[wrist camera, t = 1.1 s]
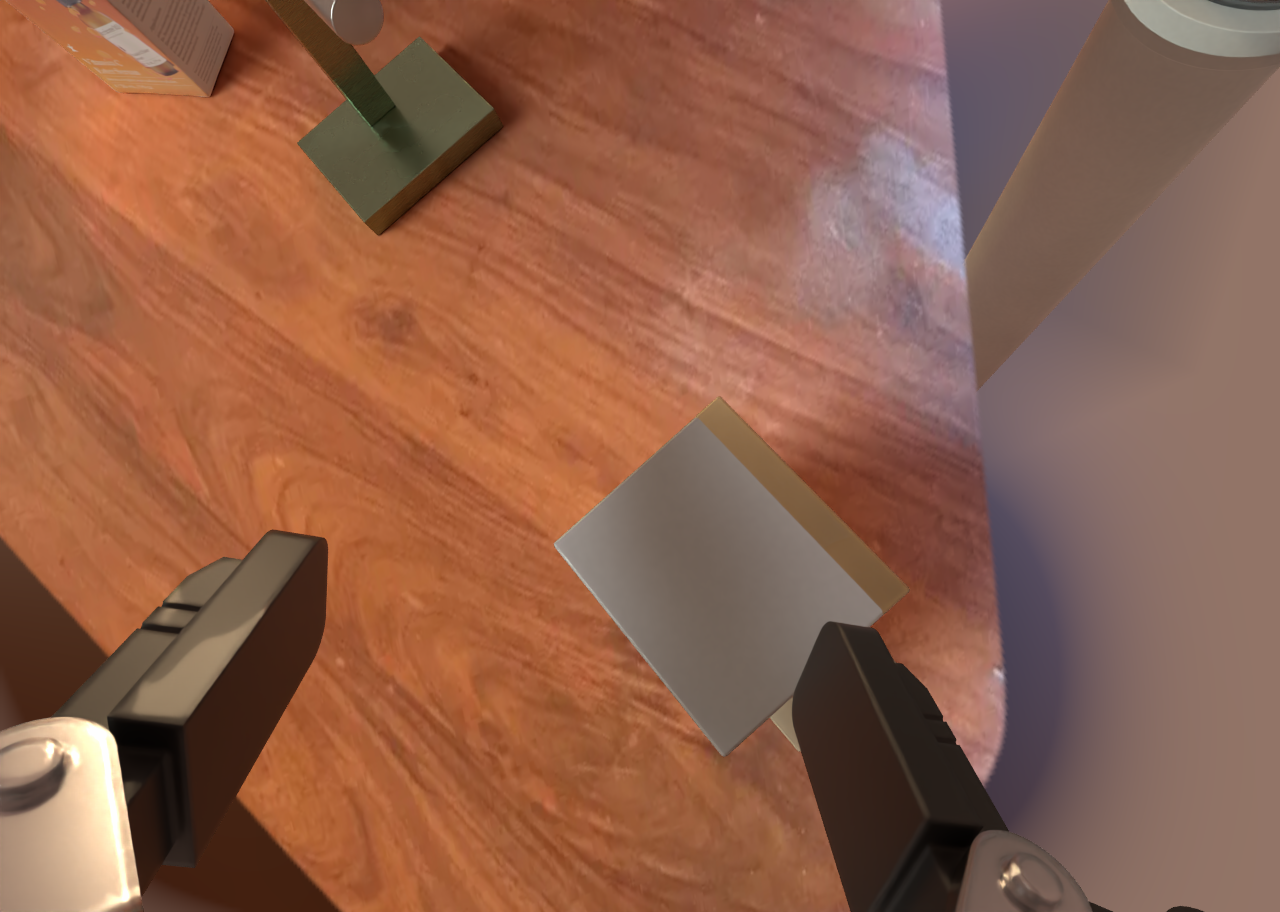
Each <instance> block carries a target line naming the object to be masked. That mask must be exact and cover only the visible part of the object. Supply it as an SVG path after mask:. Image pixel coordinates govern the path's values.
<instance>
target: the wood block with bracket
mask: <svg viewBox="0 0 1280 912" xmlns="http://www.w3.org/2000/svg"><path fill="white" fill-rule="evenodd" d="M554 546H555V548H556V549H557V551H558V552H559V553H560V554H561V556H562V557H563V558H564V559H565V561H566V562H567V563H568V564H569V566H570V567H571V568H572V569H573V571H574V572H575V573H576V574H577V576H578V577H579V578H580V579H581V581H582V582H583V583H584V584H585V586H586V587H587V588H588V589H589V591H590V592H591V593H592V594H593V596H594V597H595V598H596V599H597V601H598V602H599V603H600V604H601V606H602V607H603V608H604V609H605V611H606V612H607V613H608V614H609V616H610V617H611V618H612V619H613V621H614V622H615V623H616V624H617V626H618V627H619V628H620V629H621V631H622V632H623V633H624V634H625V636H626V637H627V638H628V639H629V641H630V642H631V643H632V644H633V646H634V647H635V648H636V649H637V651H638V652H639V653H640V654H641V656H642V657H643V658H644V659H645V661H646V662H647V663H648V664H649V666H650V667H651V668H652V669H653V671H654V672H655V673H656V674H657V676H658V677H659V678H660V679H661V681H662V682H663V683H664V684H665V686H666V687H667V688H668V689H669V691H670V692H671V693H672V694H673V696H674V697H675V698H676V699H677V701H678V702H679V703H680V704H681V706H682V707H683V708H684V709H685V711H686V712H687V713H688V714H689V716H690V717H691V718H692V719H693V721H694V722H695V723H696V724H697V726H698V727H699V728H700V729H701V731H702V732H703V733H704V734H705V735H706V737H707V738H708V739H709V740H710V742H711V743H712V744H713V745H714V747H715V748H716V749H717V750H718V752H719V753H720V754H721V755H722V756H724V757H725V756H727V755H729V754H730V753H731V752H732V751H733V750H734V749H735V748H736V747H737V746H739V745H740V744H741V743H742V742H743V741H744V740H745V739H746V738H747V737H749V736H750V735H751V734H752V733H753V732H754V731H755V730H756V729H757V728H758V727H760V726H761V725H762V724H763V723H764V722H765V721H766V720H767V719H768V718H771V720H772V721H773V722H774V723H775V724H776V726H777V727H778V728H779V729H780V730H781V731H782V733H783V734H784V735H785V736H786V737H787V739H788V740H789V741H790V742H791V743H792V745H793V746H794V747H795V748H796V749H797V750H798V751H799V752H800V751H801V750H800V746H799V743H798V740H797V737H796V734H795V730H794V727H793V721H792V702H793V695H794V691H795V688H796V686H797V683H798V681H799V679H800V676H801V674H802V672H803V669H804V667H805V665H806V663H807V660H808V658H809V656H810V653H811V651H812V649H813V646H814V644H815V642H816V639H817V637H818V635H819V632H820V630H821V628H822V627H823V626H824V624H825V623H827V622H829V621H833V622H839V623H845V624H851V625H858V626H864V627H870V626H871V625H873V624H874V623H875V622H876V621H877V620H878V619H879V618H880V617H881V616H883V615H884V614H885V613H886V612H887V611H888V610H889V609H891V608H892V607H893V606H894V605H895V604H896V603H897V602H898V601H899V600H901V599H902V598H903V597H904V596H905V595H906V594H907V593H908V592H909V591H910V589H909V587H908V586H907V585H906V584H905V583H904V582H903V581H902V580H901V579H900V578H899V577H898V576H897V575H896V574H895V573H894V572H893V571H892V570H891V569H890V568H889V567H888V566H887V565H886V564H885V563H884V562H883V561H882V560H881V559H880V558H879V557H878V556H877V555H876V554H875V553H874V552H873V551H872V550H871V549H870V548H869V547H868V546H867V545H866V544H865V543H864V542H863V541H862V540H861V539H860V538H859V537H858V536H857V535H856V534H855V533H854V532H853V531H852V530H851V529H850V528H849V526H848V525H847V524H846V523H845V522H844V521H843V520H842V519H841V518H840V517H839V516H838V515H837V514H836V513H835V512H834V511H833V510H832V509H831V508H830V507H829V506H828V505H827V504H826V503H825V502H824V501H823V500H822V499H821V498H820V497H819V496H818V495H817V494H816V493H815V492H814V491H813V490H812V489H811V488H810V487H809V486H808V485H807V484H806V483H805V482H804V481H803V480H802V479H801V478H800V477H799V476H798V475H797V474H796V473H795V472H794V471H793V470H792V469H791V468H790V467H789V466H788V465H787V464H786V463H785V462H784V461H783V460H782V459H781V458H780V456H779V455H778V454H777V453H776V452H775V451H774V450H773V449H772V448H771V447H770V446H769V445H768V444H767V443H766V442H765V441H764V440H763V439H762V438H761V437H760V436H759V435H758V434H757V433H756V432H755V431H754V430H753V429H752V428H751V427H750V426H749V425H748V424H747V423H746V422H745V421H744V420H743V419H742V418H741V417H740V416H739V415H738V414H737V413H736V412H735V411H734V410H733V409H732V408H731V407H730V406H729V405H728V404H727V403H726V402H725V401H724V400H723V399H722V398H721V397H720V396H719V397H717V398H716V399H715V400H714V401H712V402H711V403H710V404H709V405H708V406H707V407H706V408H705V409H703V410H702V411H701V412H700V413H699V414H698V415H697V416H696V417H695V418H694V419H693V420H692V421H691V422H689V423H688V424H687V425H686V426H685V427H684V428H683V429H682V430H680V431H679V432H678V433H677V434H676V435H675V436H674V437H673V438H671V439H670V440H669V441H668V442H667V443H666V444H665V445H664V446H662V447H661V448H660V449H659V450H658V451H657V452H656V453H655V454H653V455H652V456H651V457H650V458H649V459H648V460H647V461H646V462H645V463H643V464H642V465H641V466H640V467H639V468H638V469H637V470H636V471H634V472H633V473H632V474H631V475H630V476H629V477H628V478H627V479H625V480H624V481H623V482H622V483H621V484H620V485H619V486H618V487H616V488H615V489H614V490H613V491H612V492H611V493H610V494H609V495H607V496H606V497H605V498H604V499H603V500H602V501H601V502H600V503H598V504H597V505H596V506H595V507H594V508H593V509H592V510H591V511H589V512H588V513H587V514H586V515H585V516H584V517H583V518H582V519H580V520H579V521H578V522H577V523H576V524H575V525H574V526H573V527H571V528H570V529H569V530H568V531H567V532H566V533H565V534H564V535H562V536H561V537H560V538H559V539H558V540H557V541H556V542H555V543H554ZM894 662H895V661H894ZM895 663H896V662H895Z"/></svg>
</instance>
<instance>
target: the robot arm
mask: <svg viewBox="0 0 1280 912" xmlns="http://www.w3.org/2000/svg"><path fill="white" fill-rule="evenodd" d="M1208 1H1211V2H1214V3H1216V4H1220V5H1223V6H1227V7H1232V8H1237V9H1245V10H1277V9H1280V0H1208ZM327 566H328V544H327V541H326V539H325V538H322V537H316V536H310V535H304V534H298V533H291V532H285V531H279V530H270V531H268V532H267V533H266V534H265V535H264V536H263V537H262V538H261V540H260V541H259V542H258V543H257V544H256V545H255V546H254V548H253V549H252V550H251V551H250V552H249V553H248V555H247V556H246V557H245V558H244V559H243V560H240V559H234V558H227V557H223V558H221V559H219V560H217V561H215V562H213V563H211V564H209V565H208V566H206V567H204V568H202V569H200V570H198V571H196V572H194V573H192V574H191V575H189V576H187V577H186V578H185V579H184V580H183V581H182V582H181V583H180V585H179V586H178V587H177V588H176V589H175V590H174V591H173V592H172V593H171V594H170V595H169V596H168V597H167V598H166V599H165V600H164V601H163V605H162V607H157V608H156V609H155V610H154V611H153V612H152V614H151V615H150V616H149V617H148V618H147V619H146V620H145V621H144V622H143V623H142V627H141V629H136V630H135V631H134V632H133V633H132V634H131V635H130V636H129V637H128V638H127V639H126V640H125V641H124V643H123V644H122V645H121V646H120V647H119V648H118V649H117V650H116V651H115V652H114V653H113V654H112V655H111V656H110V657H109V658H108V659H107V660H106V661H105V662H104V663H103V664H102V665H101V666H100V667H99V668H98V669H97V671H96V672H95V673H94V674H93V675H92V676H91V677H90V678H89V679H88V680H87V681H86V682H85V683H84V684H83V685H82V686H81V687H80V688H79V689H78V690H77V691H76V692H75V693H74V694H73V695H72V696H71V697H70V699H68V701H67V702H66V703H65V704H64V705H63V706H62V707H61V708H60V709H59V710H58V711H57V712H56V713H55V714H54V715H53V716H52V717H51V718H48V719H40V720H36V721H31V722H27V723H23V724H20V725H17V726H14V727H11V728H8V729H6V730H4V731H1V732H0V912H144V909H143V906H142V900H141V897H142V896H143V894H144V893H145V891H146V889H147V888H148V886H149V884H150V883H151V881H152V880H153V878H154V876H155V875H156V873H157V872H158V870H159V868H160V867H161V865H172V866H181V867H192V868H195V867H196V865H197V863H198V862H199V860H200V858H201V856H202V855H203V853H204V851H205V849H206V848H207V846H208V844H209V842H210V841H211V839H212V837H213V835H214V834H215V832H216V830H217V828H218V827H219V825H220V823H221V821H222V819H223V818H224V816H225V814H226V813H227V811H228V809H229V807H230V806H231V804H232V802H233V800H234V799H235V797H236V795H237V793H238V792H239V790H240V788H241V786H242V784H243V783H244V781H245V779H246V777H247V776H248V774H249V772H250V770H251V769H252V767H253V765H254V763H255V762H256V760H257V758H258V756H259V755H260V753H261V751H262V749H263V748H264V746H265V744H266V742H267V741H268V739H269V737H270V735H271V734H272V732H273V730H274V728H275V727H276V725H277V723H278V721H279V720H280V718H281V716H282V714H283V712H284V711H285V709H286V707H287V705H288V704H289V702H290V700H291V698H292V697H293V695H294V693H295V691H296V690H297V688H298V686H299V684H300V683H301V681H302V679H303V677H304V676H305V674H306V672H307V670H308V669H309V667H310V665H311V663H312V662H313V660H314V658H315V656H316V653H317V651H318V648H319V645H320V643H321V639H322V636H323V631H324V627H325V620H326V595H327ZM792 721H793V727H794V730H795V734H796V737H797V740H798V743H799V746H800V750H801V753H802V756H803V759H804V763H805V766H806V769H807V772H808V775H809V779H810V782H811V785H812V788H813V792H814V795H815V798H816V801H817V805H818V808H819V811H820V814H821V817H822V821H823V824H824V827H825V830H826V834H827V837H828V840H829V843H830V846H831V850H832V853H833V856H834V859H835V863H836V866H837V869H838V872H839V875H840V879H841V882H842V885H843V888H844V892H845V895H846V898H847V901H848V905H849V908H850V911H851V912H1112V911H1110V910H1107V909H1105V908H1103V907H1101V906H1098V905H1096V904H1094V903H1091V902H1089V901H1088V900H1087V897H1086V896H1085V894H1084V892H1083V891H1082V889H1081V887H1080V886H1079V885H1078V883H1077V882H1076V881H1075V879H1074V878H1073V877H1072V876H1071V875H1070V873H1069V872H1068V871H1067V870H1066V869H1065V868H1064V867H1063V866H1062V865H1061V864H1060V863H1059V862H1058V861H1057V860H1056V859H1055V858H1054V857H1052V856H1051V855H1050V854H1049V853H1047V852H1046V851H1045V850H1044V849H1042V848H1041V847H1039V846H1038V845H1036V844H1034V843H1033V842H1031V841H1029V840H1028V839H1026V838H1024V837H1021V836H1019V835H1017V834H1014V833H1011V832H1009V830H1008V829H1007V827H1006V825H1005V823H1004V822H1003V820H1002V818H1001V816H1000V815H999V813H998V811H997V810H996V808H995V806H994V804H993V803H992V801H991V799H990V797H989V796H988V794H987V792H986V790H985V789H984V787H983V785H982V783H981V782H980V780H979V778H978V776H977V775H976V773H975V771H974V769H973V768H972V766H971V764H970V762H969V761H968V759H967V757H966V755H965V754H964V752H963V750H962V749H961V747H960V745H956V738H955V736H954V735H953V733H952V731H951V729H950V728H949V726H948V724H947V722H943V715H942V714H941V712H940V710H939V708H938V707H937V705H936V703H935V701H934V700H933V698H932V696H931V695H930V693H929V691H928V689H927V688H926V687H925V686H924V685H923V684H922V683H921V682H920V681H919V680H918V679H917V678H916V677H915V676H914V675H913V674H912V673H911V672H910V671H909V670H908V669H907V668H906V667H905V666H904V665H903V664H901V663H895V662H894V660H893V658H892V656H891V655H890V653H889V651H888V649H887V647H886V645H885V643H884V642H883V640H882V638H881V636H880V634H879V633H878V632H877V631H876V630H875V629H874V628H870V627H864V626H858V625H851V624H845V623H839V622H833V621H829V622H827V623H825V624H824V626H823V627H822V628H821V630H820V632H819V635H818V637H817V639H816V642H815V644H814V646H813V649H812V651H811V653H810V656H809V658H808V660H807V663H806V665H805V667H804V669H803V672H802V674H801V676H800V679H799V681H798V683H797V686H796V688H795V691H794V695H793V702H792ZM1167 912H1203V911H1200V910H1198V909H1195V908H1191V907H1184V906H1178V907H1173V908H1171V909H1169V910H1168V911H1167Z"/></svg>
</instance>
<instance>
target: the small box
mask: <svg viewBox="0 0 1280 912" xmlns="http://www.w3.org/2000/svg"><path fill="white" fill-rule="evenodd" d="M5 1H7V2H8V3H9V4H10V5H12V6H13V7H14V8H15V9H16V10H18V11H19V12H20V13H21V14H23V15H24V16H25V17H26V18H27V19H29V20H30V21H31V22H32V23H33V24H35V25H36V26H37V27H38V28H40V29H41V30H42V31H43V32H44V33H46V34H47V35H48V36H49V37H51V38H52V39H53V40H54V41H55V42H57V43H58V44H59V45H60V46H61V47H63V48H64V49H65V50H66V51H67V52H69V53H70V54H71V55H72V56H74V57H75V58H76V59H77V60H79V61H80V62H81V63H82V64H83V65H85V66H86V67H87V68H88V69H89V70H91V71H92V72H93V73H94V74H96V75H97V76H98V77H99V78H100V79H102V80H103V81H104V82H105V83H107V84H108V85H109V86H110V87H111V88H113V89H114V90H115V91H116V92H119V93H156V94H172V95H190V96H199V97H210V96H211V93H212V90H213V87H214V85H215V82H216V79H217V76H218V73H219V71H220V68H221V66H222V63H223V60H224V58H225V55H226V53H227V50H228V47H229V45H230V42H231V40H232V37H233V34H234V29H233V28H232V27H231V26H230V25H229V23H228V22H227V21H226V20H225V19H224V18H223V17H222V16H221V14H220V13H219V12H218V11H217V10H216V9H215V8H214V7H213V6H212V4H211V3H210V2H209V1H208V0H5Z"/></svg>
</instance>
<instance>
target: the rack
mask: <svg viewBox="0 0 1280 912" xmlns="http://www.w3.org/2000/svg"><path fill="white" fill-rule="evenodd" d="M265 1H266V2H267V3H268V4H269V6H270V7H271V8H272V9H273V10H274V12H275V13H276V14H277V15H278V17H279V18H280V19H281V20H282V21H283V23H284V24H285V25H286V26H287V28H288V29H289V30H290V31H291V32H292V34H293V35H294V36H295V37H296V39H297V40H298V41H299V42H300V43H301V45H302V46H303V47H304V48H305V50H306V51H307V52H308V53H309V54H310V56H311V57H312V58H313V59H314V61H315V62H316V63H317V64H318V65H319V67H320V68H321V69H322V70H323V72H324V73H325V74H326V75H327V76H328V78H329V79H330V80H331V81H332V83H333V84H334V85H335V86H336V87H337V89H338V90H339V91H340V92H341V94H342V95H343V96H344V97H345V98H346V101H345V102H343V103H342V104H341V105H340V106H339V107H338V108H337V109H335V110H334V111H333V112H332V113H331V114H330V115H329V116H327V117H326V118H325V119H324V120H323V121H322V122H321V123H319V124H318V125H317V126H316V127H315V128H314V129H312V130H311V131H310V132H309V133H308V134H307V135H306V136H304V137H303V138H302V139H301V140H300V141H299V142H298V143H297V144H298V145H299V146H300V148H301V149H302V150H303V151H304V152H305V153H306V155H307V156H308V157H309V158H310V159H311V161H312V162H313V163H314V164H315V165H316V166H317V168H318V169H319V170H320V171H321V172H322V173H323V175H324V176H325V177H326V178H327V179H328V180H329V182H330V183H331V184H332V185H333V186H334V188H335V189H336V190H337V191H338V192H339V193H340V195H341V196H342V197H343V198H344V199H345V200H346V202H347V203H348V204H349V205H350V206H351V208H352V209H353V210H354V211H355V212H356V213H357V215H358V216H359V217H360V218H361V219H362V220H363V222H364V223H365V224H366V225H367V226H368V227H369V228H370V229H372V230H373V231H374V232H375V233H376V234H377V235H380V234H381V233H382V232H383V231H384V230H386V229H387V228H388V227H389V226H390V225H391V224H392V223H394V222H395V221H396V220H397V219H398V218H399V217H400V216H402V215H403V214H404V213H405V212H406V211H407V210H408V209H410V208H411V207H412V206H413V205H414V204H415V203H416V202H418V201H419V200H420V199H421V198H422V197H423V196H424V195H426V194H427V193H428V192H429V191H430V190H431V189H432V188H433V187H435V186H436V185H437V184H438V183H439V182H440V181H441V180H443V179H444V178H445V177H446V176H447V175H448V174H449V173H451V172H452V171H453V170H454V169H455V168H456V167H457V166H459V165H460V164H461V163H462V162H463V161H464V160H465V159H467V158H468V157H469V156H470V155H471V154H472V153H473V152H475V151H476V150H477V149H478V148H479V147H480V146H481V145H483V144H484V143H485V142H486V141H487V140H488V139H489V138H491V137H492V136H493V135H494V134H495V133H496V132H497V131H499V130H500V129H501V128H502V127H503V124H502V122H501V121H500V119H499V117H498V115H497V113H496V111H495V109H494V108H493V107H492V106H491V105H490V104H489V103H488V102H487V101H486V100H485V99H484V98H483V97H482V96H481V95H480V94H479V93H477V92H476V91H475V90H474V89H473V88H472V87H471V86H470V85H469V84H468V83H467V82H466V81H465V80H464V79H463V78H462V77H461V76H460V75H459V74H458V73H457V72H456V71H455V70H454V69H453V68H452V67H451V66H450V65H449V64H448V63H447V62H446V61H444V60H443V59H442V58H441V57H440V56H439V55H438V54H437V53H436V52H435V51H434V50H433V49H432V48H431V47H430V46H429V45H428V44H427V43H426V42H425V41H424V40H423V39H422V38H421V37H418V38H417V39H416V40H415V41H414V42H412V43H411V44H410V45H409V46H408V47H407V48H405V49H404V50H403V51H402V52H401V53H400V54H399V55H397V56H396V57H395V58H394V59H393V60H392V61H391V62H389V63H388V64H387V65H386V66H385V67H384V68H383V69H381V70H380V71H379V72H378V73H377V74H376V75H373V73H372V72H371V71H370V69H369V68H368V66H367V65H366V64H365V62H364V61H363V60H362V58H361V57H360V56H359V54H358V53H357V51H356V50H355V49H354V47H353V46H352V45H364V44H367V43H369V42H371V41H372V40H374V39H375V38H376V37H377V35H378V34H379V32H380V30H381V28H382V25H383V9H382V5H381V3H380V1H379V0H265ZM351 44H352V45H351Z"/></svg>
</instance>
